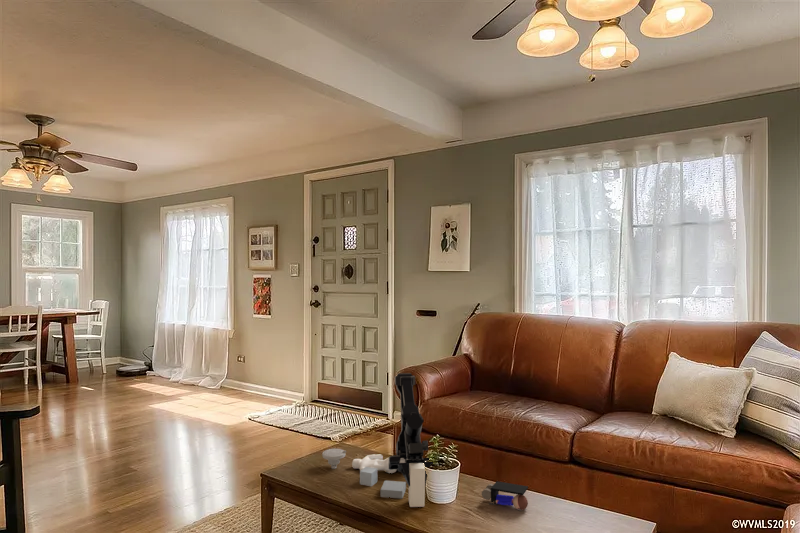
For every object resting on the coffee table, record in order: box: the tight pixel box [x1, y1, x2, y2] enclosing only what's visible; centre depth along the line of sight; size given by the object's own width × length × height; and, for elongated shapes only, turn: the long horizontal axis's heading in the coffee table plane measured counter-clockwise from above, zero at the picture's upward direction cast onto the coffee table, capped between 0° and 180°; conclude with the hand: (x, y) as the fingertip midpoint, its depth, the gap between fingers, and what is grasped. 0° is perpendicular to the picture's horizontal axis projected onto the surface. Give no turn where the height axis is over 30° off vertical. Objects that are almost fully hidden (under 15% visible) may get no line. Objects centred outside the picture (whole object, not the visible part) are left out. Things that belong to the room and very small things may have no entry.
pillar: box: [407, 463, 426, 508], centre depth 173 cm, size 5×5×13 cm
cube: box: [359, 467, 378, 487], centre depth 192 cm, size 5×5×5 cm
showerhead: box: [322, 448, 347, 470], centre depth 207 cm, size 9×7×10 cm
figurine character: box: [481, 480, 529, 511], centre depth 172 cm, size 7×8×15 cm
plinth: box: [380, 480, 407, 499], centre depth 183 cm, size 8×8×3 cm
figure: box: [351, 453, 398, 474], centre depth 204 cm, size 11×6×20 cm
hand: (417, 485), depth 172 cm, fingers closed on pillar, 5 cm apart
